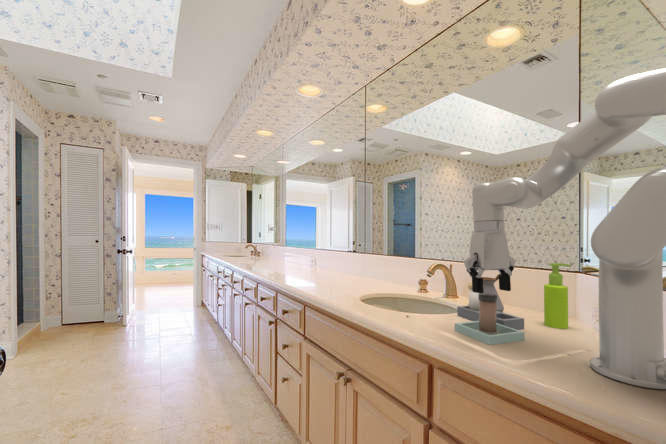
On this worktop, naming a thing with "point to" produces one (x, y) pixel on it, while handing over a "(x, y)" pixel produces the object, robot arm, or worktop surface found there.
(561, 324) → the soap dispenser
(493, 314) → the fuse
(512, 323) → the fuse holder
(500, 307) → the coffee pot
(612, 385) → the worktop surface
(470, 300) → the fuse
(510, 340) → the parts tray
